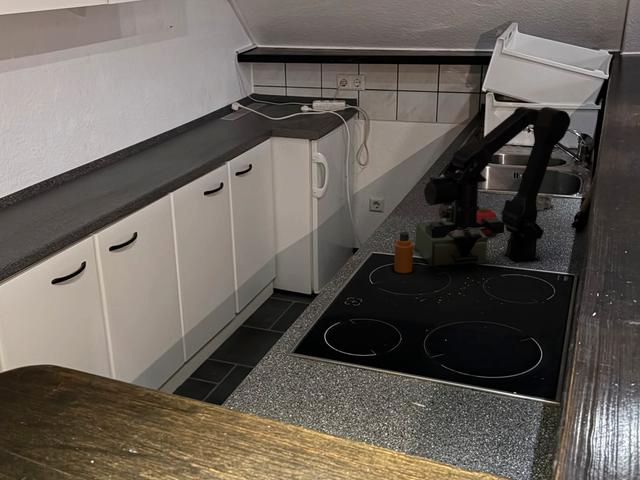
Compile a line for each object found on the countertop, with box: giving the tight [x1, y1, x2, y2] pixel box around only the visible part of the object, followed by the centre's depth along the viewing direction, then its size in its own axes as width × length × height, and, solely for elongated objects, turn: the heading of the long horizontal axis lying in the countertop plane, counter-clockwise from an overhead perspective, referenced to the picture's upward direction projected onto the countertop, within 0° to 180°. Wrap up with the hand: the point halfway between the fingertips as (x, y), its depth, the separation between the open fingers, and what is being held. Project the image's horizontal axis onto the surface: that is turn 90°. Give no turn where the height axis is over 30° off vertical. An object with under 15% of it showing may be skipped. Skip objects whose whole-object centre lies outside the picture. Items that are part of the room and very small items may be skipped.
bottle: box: [393, 231, 414, 274], centre depth 194 cm, size 5×5×10 cm
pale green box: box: [415, 220, 488, 268], centre depth 204 cm, size 15×15×7 cm
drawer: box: [434, 241, 488, 265], centre depth 200 cm, size 18×13×5 cm
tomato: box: [477, 207, 498, 236], centre depth 218 cm, size 9×9×8 cm
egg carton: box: [514, 193, 554, 211], centre depth 241 cm, size 11×8×4 cm
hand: (463, 260), depth 194 cm, fingers closed, pressing on drawer
